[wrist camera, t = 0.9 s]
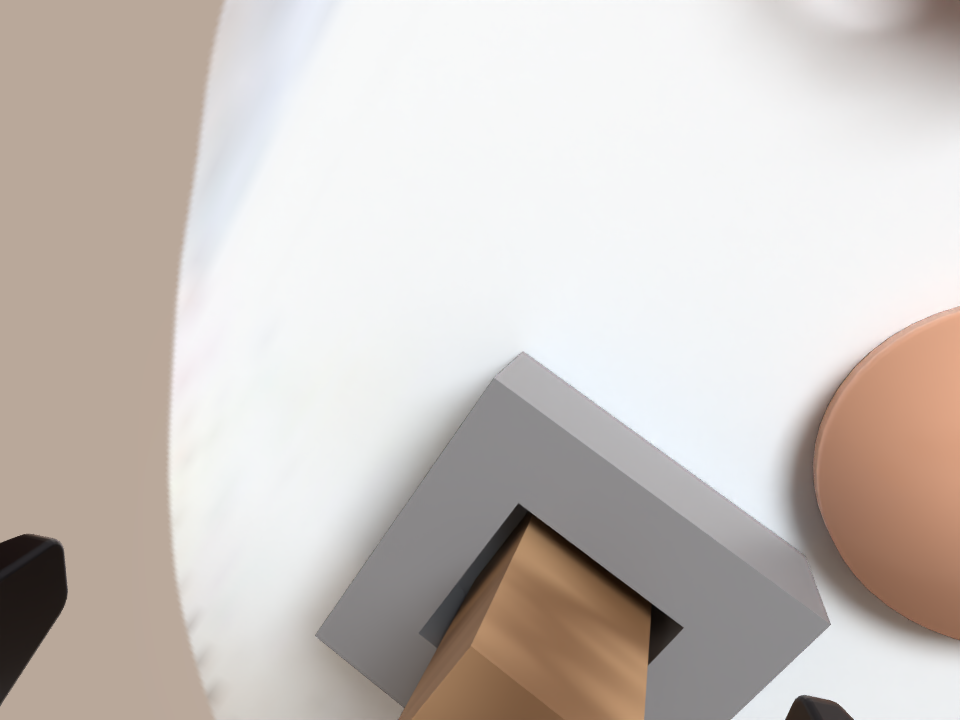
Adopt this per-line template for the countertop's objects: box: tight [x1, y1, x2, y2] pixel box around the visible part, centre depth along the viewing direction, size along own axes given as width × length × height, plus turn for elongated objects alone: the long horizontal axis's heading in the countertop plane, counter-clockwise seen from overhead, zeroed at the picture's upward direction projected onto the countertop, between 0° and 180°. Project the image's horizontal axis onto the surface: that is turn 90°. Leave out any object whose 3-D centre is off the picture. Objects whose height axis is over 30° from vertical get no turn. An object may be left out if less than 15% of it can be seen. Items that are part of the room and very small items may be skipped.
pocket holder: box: [315, 352, 831, 720], centre depth 20 cm, size 10×10×4 cm
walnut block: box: [398, 511, 652, 720], centre depth 18 cm, size 4×4×8 cm
